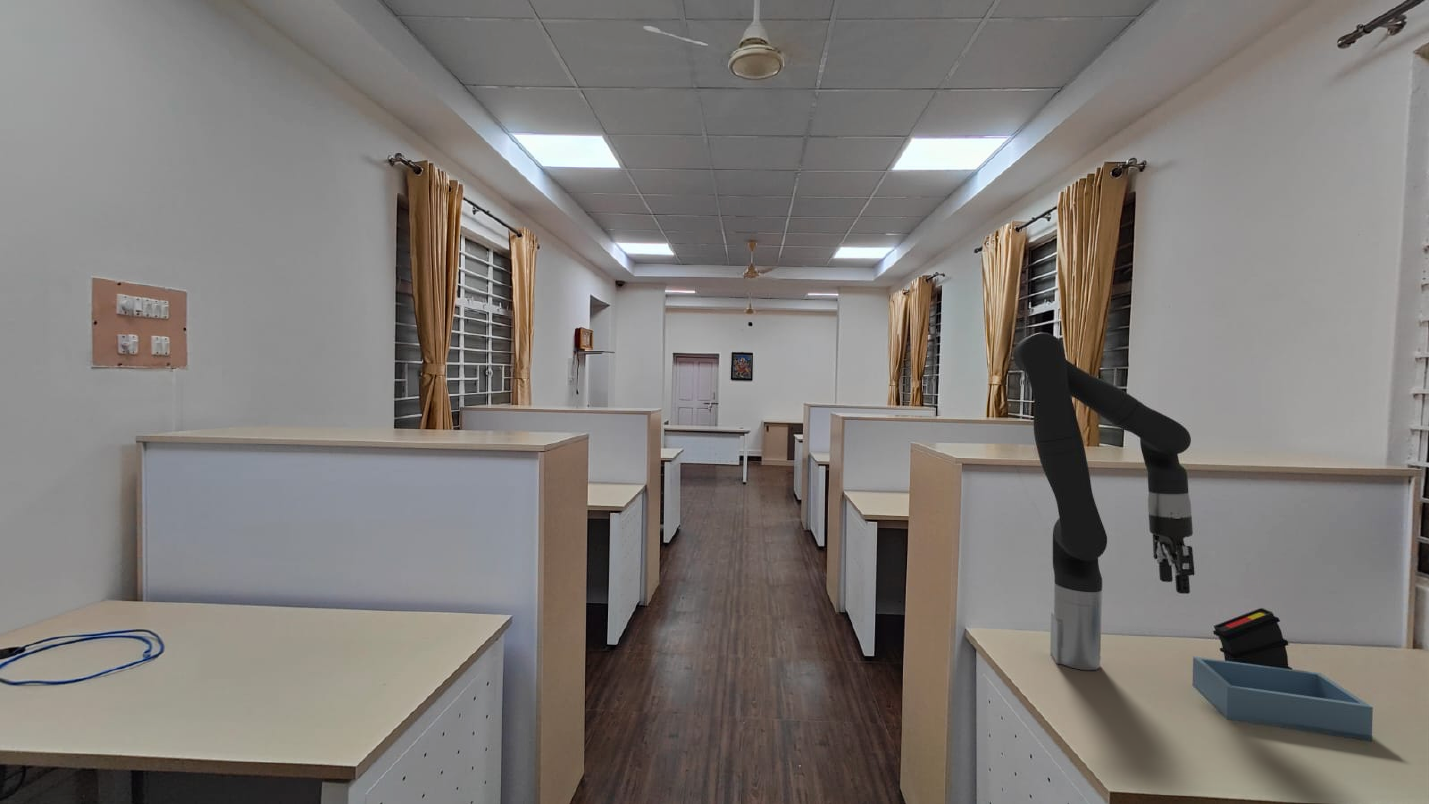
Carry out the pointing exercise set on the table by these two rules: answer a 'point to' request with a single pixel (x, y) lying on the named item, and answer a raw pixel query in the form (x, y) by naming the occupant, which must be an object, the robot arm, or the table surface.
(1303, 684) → the bin
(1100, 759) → the table surface
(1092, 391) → the robot arm
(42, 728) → the table surface
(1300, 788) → the table surface
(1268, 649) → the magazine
